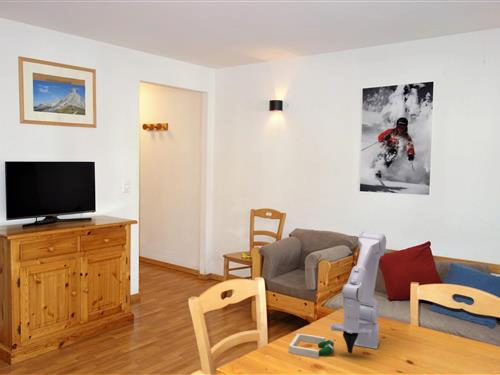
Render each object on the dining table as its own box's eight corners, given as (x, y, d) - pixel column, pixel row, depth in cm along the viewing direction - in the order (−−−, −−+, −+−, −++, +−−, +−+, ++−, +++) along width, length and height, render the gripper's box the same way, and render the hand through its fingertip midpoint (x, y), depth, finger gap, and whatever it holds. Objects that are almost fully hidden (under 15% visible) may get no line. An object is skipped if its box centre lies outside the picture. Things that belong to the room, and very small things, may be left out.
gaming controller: (322, 361, 166) (335, 352, 165) (315, 353, 167) (328, 343, 165) (323, 351, 175) (335, 342, 174) (317, 344, 176) (328, 334, 174)
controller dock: (325, 343, 178) (325, 337, 178) (318, 358, 164) (318, 351, 164) (297, 339, 182) (297, 333, 182) (288, 352, 168) (288, 346, 168)
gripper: (330, 316, 165) (328, 352, 166) (370, 322, 160) (369, 359, 161) (333, 310, 172) (331, 345, 173) (372, 316, 167) (370, 352, 168)
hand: (350, 351), depth 167 cm, fingers closed
